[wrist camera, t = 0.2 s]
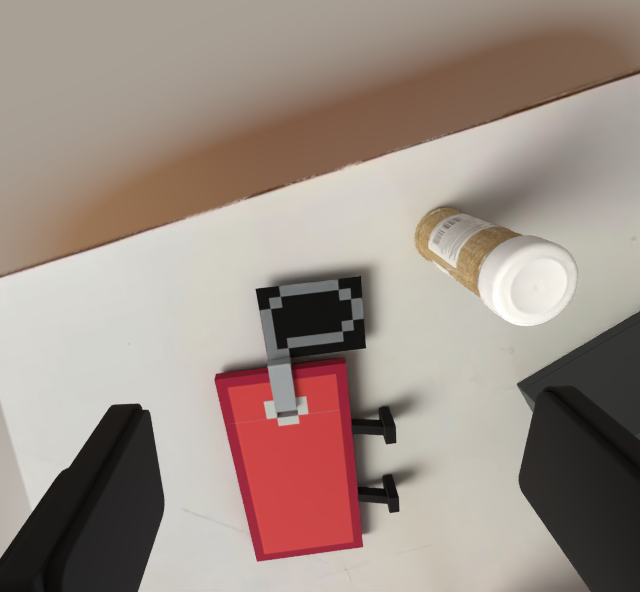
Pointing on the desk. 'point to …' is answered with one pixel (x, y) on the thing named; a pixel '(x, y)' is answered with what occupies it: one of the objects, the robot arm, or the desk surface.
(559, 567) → the desk surface
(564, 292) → the sprinkles bottle
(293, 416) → the red board with handle
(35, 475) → the desk surface
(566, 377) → the wastebin
